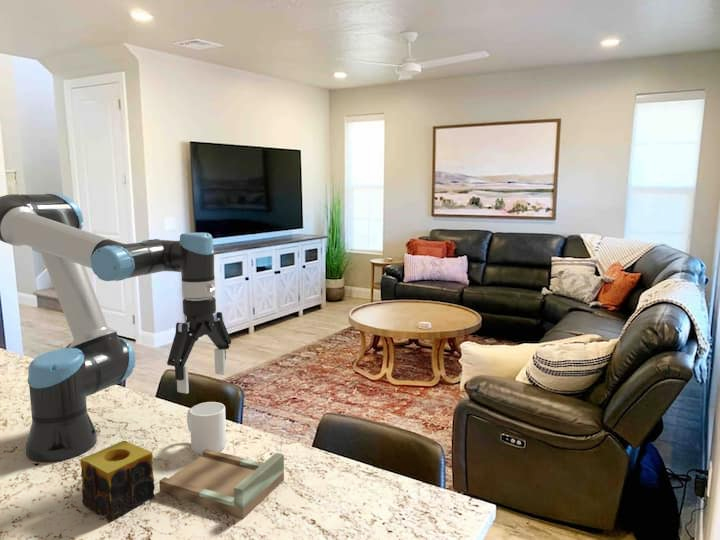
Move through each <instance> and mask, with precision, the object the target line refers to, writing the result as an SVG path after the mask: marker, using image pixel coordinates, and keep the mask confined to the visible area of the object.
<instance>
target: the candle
mask: <svg viewBox="0 0 720 540" xmlns="http://www.w3.org/2000/svg"><path fill="white" fill-rule="evenodd" d="M153 456H154V455H153V452H152V451H150V450H148V449H146V448H143V447H140V446H138V445H136V444H134V443H132V442H129V441H126V440H122V441H119V442H116V443H115V444H113V445H110V446H108V447H105V448H103V449H101V450H99V451H96V452H94V453H93V454H89V455H88V456H84V457H82V458H80V461H79V462H80V469H81V472H80V473H81V482H82V483H81V496H82V500H81V502H82V506H84V507H85V508H87V509H89V510H90V511H92V512H93V513H95V514H97V515H98V516H99V515H100V516H103V517H104V518H105V519H106V520H108V521H110V522H112V521H114V520H115V519H118V518H119V517H121V516H124V515H125V514H127V513H128V512H130V511H133V510H134V509H136V508H137V507H139V506H140V505H142V504H144V503H146V502H147V501H149V500H151V499H153V498H154V497H155V478H154V467H153V464H154V463H153V462H154V461H153Z"/></svg>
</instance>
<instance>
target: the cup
mask: <svg viewBox="0 0 720 540" xmlns="http://www.w3.org/2000/svg"><path fill="white" fill-rule="evenodd" d="M186 422H187V429H188V430H189V432H190V444H191V445H190V446H191V450H192V451H193V453H194V454H196V455H199V456H200V455H201V456H202V455H203V451H204V450H206V449H209V450H213V451H217V452H223V450H224V449H225V447H226V445H227V428H226V422H227V421H226V406H225V405H224V404H223V402H222V403H221V402H216V401H206V402H201V403H198V404H195V405H193V406H192V407H190V408H189V409H188V410H187V415H186Z"/></svg>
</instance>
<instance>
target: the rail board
mask: <svg viewBox="0 0 720 540" xmlns="http://www.w3.org/2000/svg"><path fill="white" fill-rule="evenodd" d="M284 481H285V455H284V454H283V453H278V452H275V453H274V454H273V455H272V456H270V457H269V458H268V459H266V460H265V461H264V462H261V461H256V460H254V459H253V460H252V459H248V458H244V457H240V456H237V455H236V456H235V455H232V454H230V453H229V454H228V453H224V452H222V451H220V452H217V451H213V450H209V449H206V450H204V451H203V455H201V456H200V455H199V457H198V458H196V459H194V460H193V461H191V462H190V463H189V464H187V465H186V466H184V467H183V468H182V469H180V470H179V471H176V472H175V473H174V474H173V475H171V476H169V477H163V478H161V479H159V481H158V482H159V483H158V484H159V494H161V495H164V496H168V497H171V498H175V499H178V500H181V501H183V502H188V503H191V504H193V505H197V506H201V507H203V508H207V509H210V510H214V511H217V512H219V513H224V514H226V515H229V516H233V517H235V518H239V519H244V518H246V517H247V516H248V515H249V514H250V513H251V512H252V511H253V510H254V509H255V508H256V507H257V506H259V504H260V503H261V502H263V501H264V500H265V499H266V498H267V497H268V496H269V495H270V494H271V493H273V491H274V490H275V489H276V488H277V487H278V486H279V485H281V484H282V482H284Z"/></svg>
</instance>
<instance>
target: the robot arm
mask: <svg viewBox="0 0 720 540" xmlns="http://www.w3.org/2000/svg"><path fill="white" fill-rule="evenodd" d="M82 223H84V217H83V212H82V210H81V208H80V207H79V205H78V204H77V203H76V202H75V201H74V200H73V199H72V198H70V197H68V196H65V195H63V194H54V193H44V194H42V193H41V194H18V193H16V194H15V193H13V194H5V195H2V196H1V195H0V241H1V242H3V243H6V244H8V245H11V246H14V247H15V246H16V247H21V246H28V247H31V250H32V251H34V252H35V253H38V254H40V255H41V258H42V260H43V262H44V265H45V267H46V270H47V273H48V275H49V279H50V281H51V283H52V286H53V288H54V291H55V294H56V296H57V299H58V302H59V303H60V304H59V305H60V307H61V310H62V312H63V315H64V318H65V320H66V323H67V326H68V328H69V330H70V334H71V336H72V339H73V340H72V342H71V344H70V345H69V347H66V348H65V347H64V348H63V347H62V348H60V349H54V350H50V351H47V352H44V353H42V354H40V355H38V356H37V357H35V358H34V359H32V361H31V362H30V363H29V365H28V369H27V370H28V373H27V374H28V377H27V384H28V387H29V389H28V390H29V400H30V409H31V410H30V413H31V421H32V422H31V425H30V429H29V433H28V437H27V440H26V443H25V453H26V454H25V455H26V457H27V458H28V459H29V460H32V461H35V462H44V463H45V462H46V463H47V462H57V461H62V460H66V459H67V460H68V459H71V458H75V457H76V456H77V457H78V456H79V455H83V454H84V453H86V452H87V451H89V450H90V449H92V448H93V447H94V446H95V445H96V444H97V441H98V438H97V437H98V436H97V431H96V428H95V426H94V423H93V421H92V419H91V417H90V416H89V413H88V408H87V397H89V396H91V395H94V394H96V393H98V392H101V391H104V390H105V389H107V388H108V389H109V388H110V387H112V386H115V385H119V384H120V383H121V382H123V381H125V380H126V379H128V378H129V377H130V376H131V375H132V374H133V372H134V368H135V366H136V357H137V356H136V352H135V349H134V347H133V345H132V344H131V342H129V341H127V339H125V338H122V337H119V334H118V332H117V330H115V329H113V328H111V327H109V326H108V324H107V323H108V322H107V321H106V319H105V316H104V313H103V311H102V308H101V305H100V303H99V300H98V298H97V295H96V292H95V290H94V287H93V284H92V282H91V279H90V277H89V274H88V271H87V268H89V269H91V270H92V272H93V274H94V275H96V276H97V278H98V279H100V280H101V281H104V282H112V281H113V282H118V281H124V280H126V279H130V278H136V277H139V276H145V275H151V274H157V273H160V272H172V273H173V272H174V273H175V272H177V273H181V274H180V276H181V295H182V297H183V300H182V312H183V314H184V315H185V317H186V319H185V322H178V321H177V322H176V324H175V334H174V337H173V341H172V345H171V349H170V351H169V355H168V359H167V362H166V364H167V366H170V367H174V375H175V376H174V378H175V380H176V389H177V393H181V394H189V393H190V390H189V388H190V387H189V385H190V384H189V369H188V367H189V366H188V365H186V363H187V361H188V359H189V356H190V354H191V353H192V350H193V347H194V345H195V343H196V342H197V341H199V338H201V337H203V336H207V337H208V338H209V340H211V342H212V343H213V345H214V346H215V347H216V348H214V349H213V350H214V374H216V375H222V376H225V375H226V374H227V373H226V359H227V353H226V352H227V351H226V350H228V349H229V348H230V345H231V343H232V339H231V337H230V334H229V332H228V329H227V328H226V325H225V322H224V320H223V318H224V317H223V313H222V312H220V311H217V304H216V303H217V302H216V300H217V299H216V298H215V297H214V296H215V295H216V285H215V284H216V283H215V249H214V239H213V236H212V234H211V233H209V232H196V231H195V232H184V233H181V234H180V236H179V240H168V239H167V240H165V239H159V238H158V239H157V238H154V239H144V240H142V241H141V242H131V243H122V242H120V241H116V240H112V239H111V238H107V237H104V236H101V235H98V234H96V233H92V232H90V231H86V230H83V229H82V228H83V226H84V225H83V224H82Z"/></svg>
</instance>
